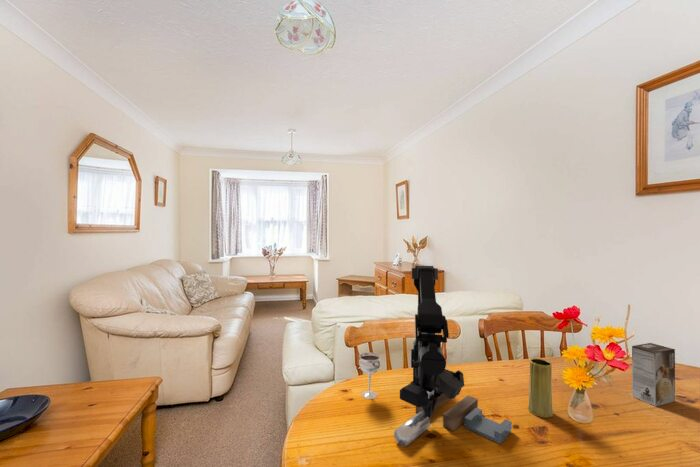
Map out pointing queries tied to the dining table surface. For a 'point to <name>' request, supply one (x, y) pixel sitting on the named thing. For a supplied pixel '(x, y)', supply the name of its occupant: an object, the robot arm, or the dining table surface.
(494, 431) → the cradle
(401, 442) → the axle
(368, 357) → the wineglass
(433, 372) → the robot arm
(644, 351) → the coffee box
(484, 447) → the dining table surface
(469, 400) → the pair of brown blocks
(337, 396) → the dining table surface
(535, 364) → the vase
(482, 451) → the dining table surface
